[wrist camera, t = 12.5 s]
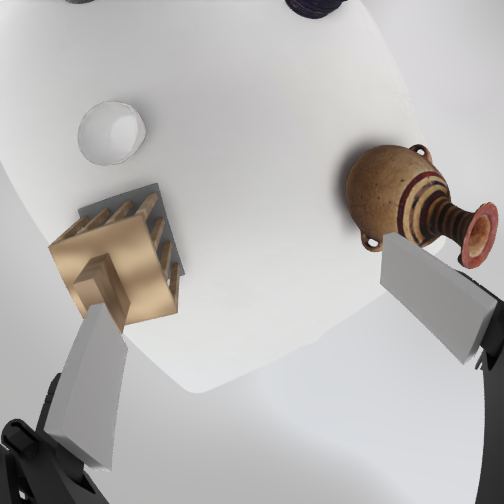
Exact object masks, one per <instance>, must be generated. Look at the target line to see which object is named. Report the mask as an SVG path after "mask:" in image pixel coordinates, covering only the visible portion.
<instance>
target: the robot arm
mask: <svg viewBox="0 0 504 504" xmlns="http://www.w3.org/2000/svg"><path fill="white" fill-rule="evenodd" d="M66 1H68V2H70V3H75V4H80V3H86V2H90V1H93V0H66ZM380 284H381V285H382V286H383V287H384V288H385V289H387V290H388V291H389V292H390V293H391V294H392V295H393V296H394V297H395V298H396V299H397V300H399V301H400V302H401V303H402V304H403V305H404V306H405V307H406V308H407V309H408V310H409V311H410V312H411V313H412V314H413V315H414V316H415V317H416V318H418V320H419V321H420V322H422V323H423V324H424V325H425V326H426V327H427V328H428V329H429V330H430V331H431V332H432V333H433V334H434V335H435V336H436V337H437V338H438V339H439V340H440V341H441V342H442V343H443V344H444V345H445V346H446V347H447V349H449V351H450V352H451V353H452V354H453V355H454V356H455V357H456V358H457V359H458V360H459V361H460V362H461V363H462V364H463V365H464V364H465V363H467V362H468V361H469V360H471V359H472V358H473V357H475V355H476V352H477V350H478V348H479V346H481V347H482V348H483V349H484V350H483V352H482V354H481V356H480V358H479V360H478V362H477V364H476V366H475V369H476V370H477V369H478V367H479V365H480V363H481V362H482V366H481V368H480V369H481V370H483V377H484V393H485V394H484V396H485V429H484V447H483V458H482V467H481V474H480V481H479V487H478V492H477V497H476V502H475V504H504V302H503V301H502V300H500V299H499V298H498V297H497V296H495V295H494V294H492V293H491V292H490V291H488V290H487V289H486V288H484V287H483V286H482V285H479V283H477V282H476V281H475V280H472V278H470V277H469V276H467V275H466V274H465V273H463V272H460V271H457V270H455V269H453V268H451V267H450V266H448V265H447V264H445V263H444V262H442V261H441V260H439V259H438V258H436V257H435V256H433V255H431V254H430V253H428V252H427V251H425V250H424V249H422V248H420V247H419V246H417V245H416V244H414V243H412V242H411V241H409V240H407V239H406V238H404V237H402V236H401V235H399V234H397V233H396V232H393V233H390V234H386V235H383V249H382V266H381V279H380ZM127 351H128V348H127V345H126V344H125V342H124V340H123V338H122V337H121V335H120V333H119V331H118V329H117V327H116V325H115V323H114V321H113V319H112V317H111V315H110V313H109V311H108V309H107V307H106V305H105V303H100V304H95V305H91V306H90V307H89V309H88V311H87V314H86V316H85V318H84V320H83V323H82V325H81V327H80V329H79V331H78V334H77V336H76V338H75V341H74V343H73V346H72V348H71V350H70V353H69V355H68V358H67V361H66V363H65V366H64V369H63V371H62V373H58V374H57V375H56V377H55V378H54V379H53V381H52V382H51V384H50V387H49V390H48V395H46V398H45V403H44V404H43V407H42V410H41V414H40V417H39V420H38V424H37V427H36V431H35V432H34V430H32V429H31V428H30V427H29V426H28V425H27V424H26V423H25V422H24V421H22V420H21V419H13V420H11V421H9V422H8V423H7V424H6V426H5V427H4V429H3V431H2V435H1V443H2V444H3V445H5V446H6V447H7V448H8V449H9V450H7V449H6V448H5V447H3V446H2V445H1V444H0V504H109V503H108V501H107V500H106V499H105V497H104V496H103V495H102V493H101V492H100V491H99V490H98V488H97V487H96V485H95V484H94V483H93V481H92V479H91V478H90V477H89V475H88V474H87V473H86V472H85V471H84V470H83V469H84V463H85V464H86V465H87V466H89V467H90V468H92V469H93V470H100V471H111V467H112V454H113V443H114V433H115V424H116V415H117V409H118V402H119V395H120V389H121V383H122V377H123V372H124V366H125V361H126V355H127ZM19 491H21V492H23V493H24V494H25V499H23V498H21V497H20V494H19Z"/></svg>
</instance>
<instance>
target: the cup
mask: <svg viewBox="0 0 504 504" xmlns="http://www.w3.org/2000/svg"><path fill="white" fill-rule="evenodd" d="M145 134H146V129H145V125H144V123H143V121H142V119H141V117H140V115H139V113H138V112H137V111H136V110H135V109H134V108H133V107H131V106H130V105H128V104H125V103H121V102H115V101H108V102H103V103H100V104H98V105H96V106H95V107H93V108H92V109H91V110H89V111H88V113H87V114H86V115H85V116H84V118H83V120H82V121H81V124H80V126H79V130H78V144H79V147H80V150H81V152H82V154H83V155H84V156H85V158H86V159H88V160H89V161H90V162H92V163H94V164H97V165H102V166H106V165H114V164H119V163H121V162H124V161H125V160H127V159H128V158H130V157H131V156H132V155H133V154H134V153H135V152H136V151H137V149H138V148H139V147H140V145H141V144H142V143H143V141H144V138H145Z"/></svg>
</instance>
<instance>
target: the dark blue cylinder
mask: <svg viewBox="0 0 504 504" xmlns="http://www.w3.org/2000/svg"><path fill="white" fill-rule="evenodd" d="M285 1H286V3H287V5H288V6H289V7H290V9H292V10H293V11H294V12H295V13H297V14H299V15H300V16H303V17H306V18H310V19H319V18H322V17H324V16H326V15H327V14H329V13H331V12H333V11H334V10H335V9H337V8H338V7H339V6H340V5H341V4H342V2H344V1H347V0H285Z"/></svg>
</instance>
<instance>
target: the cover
mask: <svg viewBox="0 0 504 504" xmlns="http://www.w3.org/2000/svg"><path fill="white" fill-rule="evenodd" d="M157 199H158V197H157V194H156V192H154V193H151V194H149V195H148V197H147V198H146V199H145V201H144V202H143V204H142V205H141V206H140V208H139V209H138V210H137V212H136V213H135V215H134V216H130V217H127V218H124V217H125V216H126V214H127V213H128V212H129V211H130V209H131V208H132V207H133V204H132V201H131V200H129V201H126V202H125V203H124V204H123V205H122V206H121V207H120V208H119V209H118V210H117V211H116V212H115V214H114V215H113V216H112V217H111V218H110V219H109V220H108V221H107V222H106V223H105V224H104V225H103V226H100V227H98V226H99V225H100V224H101V223H102V222H103V221H104V220H105V219H106V218H107V217H108V216H109V215H110V211H109V208H105V209H103V210H102V211H101V212H100V213H99V214H98V215H96V216H95V217H94V218H93V219H92V220H91V221H90V220H89V218H88V215H86V216H83V217H81V218H80V219H79V220H78V221H77V222H76V223H74V224H73V225H72V226H71V227H70V228H69V229H67V230H66V231H65V232H64V233H63V234H62V235H61V236H60V237H58V238H57V239H56V240H55V241H54V242H53V243H52V244H51V245H50V246H49V247H48V248H49V250H50V253H51V255H52V257H53V259H54V262H55V264H56V266H57V268H58V271H59V273H60V275H61V277H62V279H63V281H64V283H65V285H66V287H67V289H68V291H69V293H70V295H71V297H72V299H73V301H74V303H75V305H76V306H77V308H78V310H79V312H80V313H81V315H82V317H83V319H84V318H85V316H86V314H87V311H88V309H89V307H90V306H91V305H95V304H100V303H105V305H106V307H107V309H108V311H109V313H110V315H111V317H112V319H113V321H114V323H115V325H116V327H117V329H118V331H119V333H120V334H122V333H123V329H124V325H129V324H133V323H137V322H142V321H146V320H151V319H155V318H159V317H163V316H167V315H172V314H176V313H178V293H179V276H180V267H179V264H178V263H175V264H172V269H171V277H170V285H169V286H168V284H167V279H168V272H169V265H170V258H171V252H172V243H171V241H168V242H165V243H164V247H163V252H162V256H161V260H160V262H159V260H158V257H157V254H156V251H157V248H158V244H159V241H160V238H161V234H162V231H163V228H164V224H165V221H164V217H163V218H159V219H157V221H156V223H155V225H154V228H153V230H152V233H151V235H150V234H149V231H148V228H147V225H146V222H145V221H146V219H147V217H148V216H149V214H150V212H151V210H152V208H153V206H154V205H155V203H156V201H157ZM123 218H124V219H123ZM89 221H90V222H89ZM88 222H89V223H88ZM87 223H88V224H87ZM86 224H87V225H86ZM85 225H86V226H85ZM84 226H85V227H84ZM83 227H84V228H83ZM82 228H83V229H82ZM81 229H82V230H81ZM79 230H81V231H79ZM78 231H79V232H78ZM77 232H78V233H77ZM76 233H77V234H76ZM75 234H76V235H75ZM74 235H75V236H74Z"/></svg>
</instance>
